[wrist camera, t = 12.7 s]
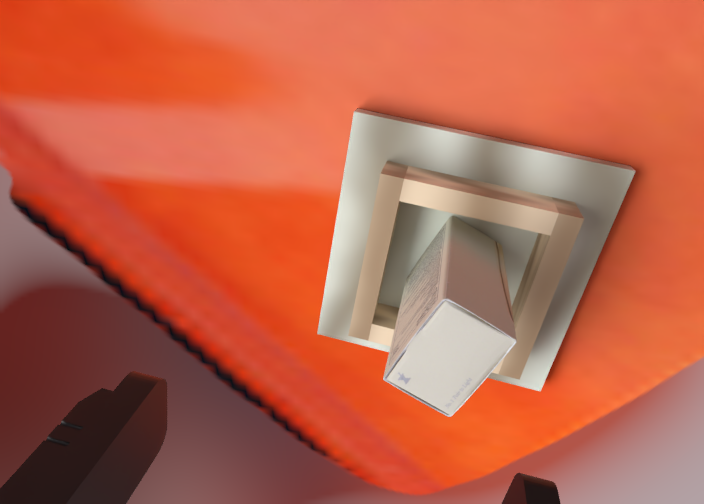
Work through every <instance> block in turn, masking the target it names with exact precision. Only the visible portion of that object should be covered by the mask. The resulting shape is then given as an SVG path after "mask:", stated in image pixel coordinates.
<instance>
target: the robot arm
mask: <svg viewBox="0 0 704 504" xmlns="http://www.w3.org/2000/svg"><path fill="white" fill-rule="evenodd" d="M166 431H167V382H166V380H165V379H162V378H158V377H154V376H150V375H146V374H142V373H138V372H135V371H133V372H131V373H129V374H128V375H127V376H126V377H125V378H124V379H123V381H122V382H121V383H120V384H119V386H117V388H116V389H115V390H114V391H110V390H107V389H103V388H102V389H100V390H98V391H97V392H95V393H93V394H92V395H90V396H88V397H87V398H85V399H83V400H82V401H80V402H78V404H77V405H76V406H75V407H74V408H73V409H72V410H71V411H70V412H69V413H68V415H67V416H66V417H65V418H64V419H63V420H62V422H61V424H60V425H58V426H57V427H56V428H55V429H54V430H53V431H52V432H51V433H50V434H49V436H48V438H47V440H46V441H43V442H42V443H41V444H40V445H39V447H38V448H37V449H36V450H35V451H34V452H33V453H32V454H31V455H30V456H29V458H28V459H27V460H26V461H25V462H24V463H23V464H22V465H21V467H20V468H19V469H18V470H17V471H16V472H15V473H14V474H13V475H12V476H11V477H10V479H9V480H8V481H7V482H6V483H5V484H4V485H3V486H2V487H1V488H0V504H126V503H127V501H128V500H129V498H130V497H131V495H132V493H133V492H134V490H135V489H136V487H137V486H138V484H139V483H140V481H141V479H142V478H143V476H144V475H145V473H146V472H147V470H148V468H149V467H150V465H151V464H152V462H153V461H154V459H155V457H156V456H157V454H158V452H159V451H160V449H161V446H162V444H163V442H164V439H165V435H166ZM502 504H560V499H559V495H558V490H557V487H556V485H555V483H554V482H552V481H548V480H544V479H540V478H537V477H533V476H529V475H525V474H521V473H517V474H516V475H515V477H514V479H513V481H512V483H511V485H510V487H509V489H508V491H507V493H506V495H505V498H504V500H503V502H502Z"/></svg>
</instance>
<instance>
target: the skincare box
mask: <svg viewBox="0 0 704 504" xmlns="http://www.w3.org/2000/svg"><path fill="white" fill-rule="evenodd" d="M516 342H517V339H516V333H515V327H514V320H513V314H512V307H511V301H510V294H509V288H508V280H507V274H506V268H505V261H504V255H503V249H502V245H501V244H499V243H497V242H496V241H494V240H493V239H491V238H489V237H488V236H486V235H485V234H483V233H481V232H480V231H478V230H476V229H475V228H473V227H471V226H470V225H468V224H466V223H465V222H463V221H461V220H460V219H458V218H456V217H455V216H451V217H449V219H448V220H447V221H446V222H445V224H444V225H443V227H442V228H441V229H440V231H439V232H438V233H437V235H436V236H435V238H434V239H433V240H432V242H431V243H430V244H429V246H428V247H427V249H426V250H425V252H424V253H423V254H422V256H421V257H420V259H419V260H418V262H417V263H416V265H415V266H414V268H413V269H412V271H411V272H410V274H409V275H408V277H407V279H406V282H405V287H404V291H403V295H402V300H401V304H400V308H399V312H398V317H397V321H396V326H395V330H394V334H393V338H392V343H391V347H390V352H389V356H388V360H387V364H386V369H385V373H384V377H383V380H384V381H386V382H388V383H390V384H391V385H393V386H395V387H396V388H398V389H400V390H402V391H403V392H405V393H407V394H408V395H410V396H412V397H414V398H415V399H417V400H419V401H421V402H422V403H424V404H426V405H428V406H429V407H431V408H433V409H435V410H437V411H439V412H440V413H442V414H444V415H446V416H448V417H451V416H452V415H453V414H454V413H455V412H456V411H457V410H458V409H459V408H460V407H461V406H462V405H463V404H464V403H465V402H466V401H467V400H468V399H469V397H470V396H471V395H472V394H473V393H474V392H475V391H476V390H477V389H478V387H479V386H480V385H481V384H482V383H483V382H484V380H485V379H486V378H487V377H488V376H489V375H490V374H491V372H492V371H493V370H494V369H495V368H496V367H497V366H498V364H499V363H500V362H501V361H502V359H503V358H504V357H505V356H506V355H507V354H508V352H509V351H510V350H511V349H512V347H513V346H514V345H515V344H516Z"/></svg>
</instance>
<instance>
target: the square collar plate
mask: <svg viewBox="0 0 704 504" xmlns="http://www.w3.org/2000/svg"><path fill="white" fill-rule="evenodd" d="M634 174H635V170H634V169H633V168H632V167H631V166H629V165H624V164H619V163H614V162H610V161H605V160H600V159H595V158H591V157H586V156H581V155H577V154H572V153H567V152H562V151H558V150H553V149H548V148H543V147H539V146H534V145H529V144H524V143H520V142H515V141H510V140H505V139H501V138H496V137H491V136H486V135H482V134H477V133H472V132H467V131H463V130H458V129H453V128H448V127H444V126H439V125H434V124H429V123H425V122H420V121H415V120H410V119H406V118H401V117H396V116H391V115H387V114H382V113H377V112H372V111H368V110H363V109H358V108H357V109H356V110H355V111H354V115H353V121H352V127H351V133H350V139H349V145H348V151H347V157H346V163H345V169H344V175H343V181H342V188H341V194H340V200H339V206H338V212H337V218H336V224H335V230H334V236H333V242H332V248H331V254H330V260H329V266H328V272H327V278H326V284H325V290H324V296H323V302H322V308H321V314H320V320H319V326H318V333H317V334H320V335H324V336H328V337H332V338H336V339H340V340H343V341H347V342H351V343H355V344H359V345H363V346H367V347H371V348H374V349H378V350H382V351H386V352H390V347H391V343H392V338H393V334H394V330H395V326H396V321H397V317H398V312H399V308H400V304H401V300H402V295H403V291H404V287H405V282H406V279H407V277H408V275H409V274H410V272H411V271H412V269H413V268H414V266H415V265H416V263H417V262H418V260H419V259H420V257H421V256H422V254H423V253H424V252H425V250H426V249H427V247H428V246H429V244H430V243H431V242H432V240H433V239H434V238H435V236H436V235H437V233H438V232H439V231H440V229H441V228H442V227H443V225H444V224H445V222H446V221H447V220H448V219H449V217H451V216H455V217H456V218H458V219H460V220H461V221H463V222H465V223H466V224H468V225H470V226H471V227H473V228H475V229H476V230H478V231H480V232H481V233H483V234H485V235H486V236H488V237H489V238H491V239H493V240H494V241H496V242H497V243H499V244H501V245H502V249H503V255H504V261H505V268H506V274H507V280H508V288H509V294H510V301H511V307H512V314H513V320H514V327H515V333H516V339H517V342H516V344H515V345H514V346H513V347H512V349H511V350H510V351H509V352H508V354H507V355H506V356H505V357H504V358H503V359H502V361H501V362H500V363H499V364H498V366H497V367H496V368H495V369H494V370H493V371H492V372H491V374H490V375H489V376H488V377H487V378H491V379H494V380H498V381H502V382H506V383H510V384H514V385H518V386H522V387H525V388H529V389H533V390H537V391H541V389H542V387H543V384H544V382H545V380H546V378H547V375H548V373H549V371H550V368H551V366H552V364H553V361H554V359H555V357H556V354H557V352H558V350H559V347H560V345H561V343H562V340H563V338H564V336H565V334H566V331H567V329H568V327H569V324H570V322H571V320H572V317H573V315H574V313H575V310H576V308H577V306H578V303H579V301H580V299H581V296H582V294H583V292H584V290H585V287H586V285H587V283H588V280H589V278H590V276H591V273H592V271H593V269H594V266H595V264H596V262H597V259H598V257H599V255H600V252H601V250H602V248H603V246H604V243H605V241H606V239H607V236H608V234H609V232H610V229H611V227H612V225H613V222H614V220H615V218H616V215H617V213H618V211H619V209H620V206H621V204H622V202H623V199H624V197H625V195H626V192H627V190H628V188H629V185H630V183H631V181H632V178H633V176H634Z"/></svg>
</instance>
